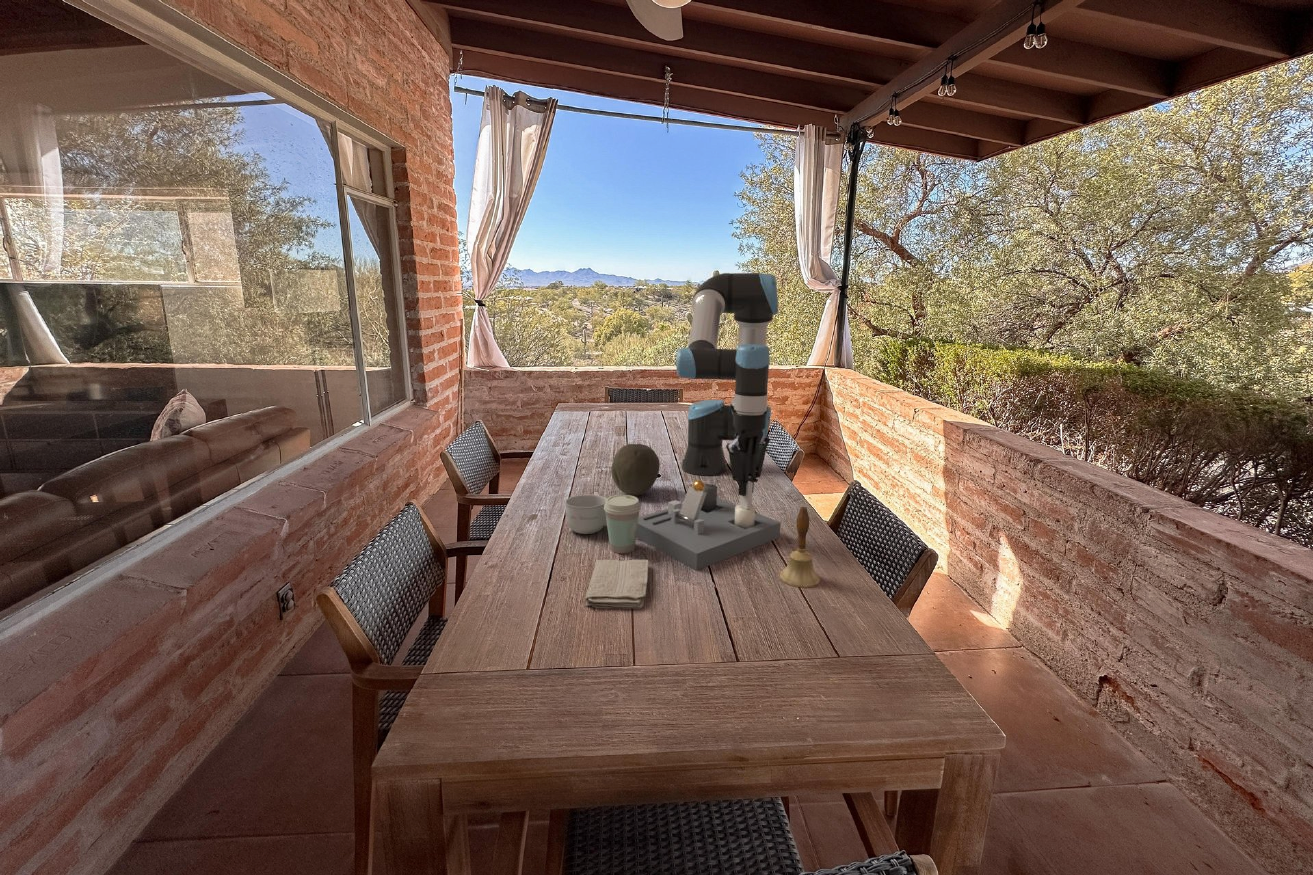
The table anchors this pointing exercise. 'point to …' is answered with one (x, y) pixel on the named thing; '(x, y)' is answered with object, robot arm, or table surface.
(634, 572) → the washcloth
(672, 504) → the slider knob
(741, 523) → the cream button
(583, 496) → the teacup
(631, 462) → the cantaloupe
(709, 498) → the dark gray button
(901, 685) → the table surface
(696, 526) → the panel
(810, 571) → the hand bell
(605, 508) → the coffee cup
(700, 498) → the lever
